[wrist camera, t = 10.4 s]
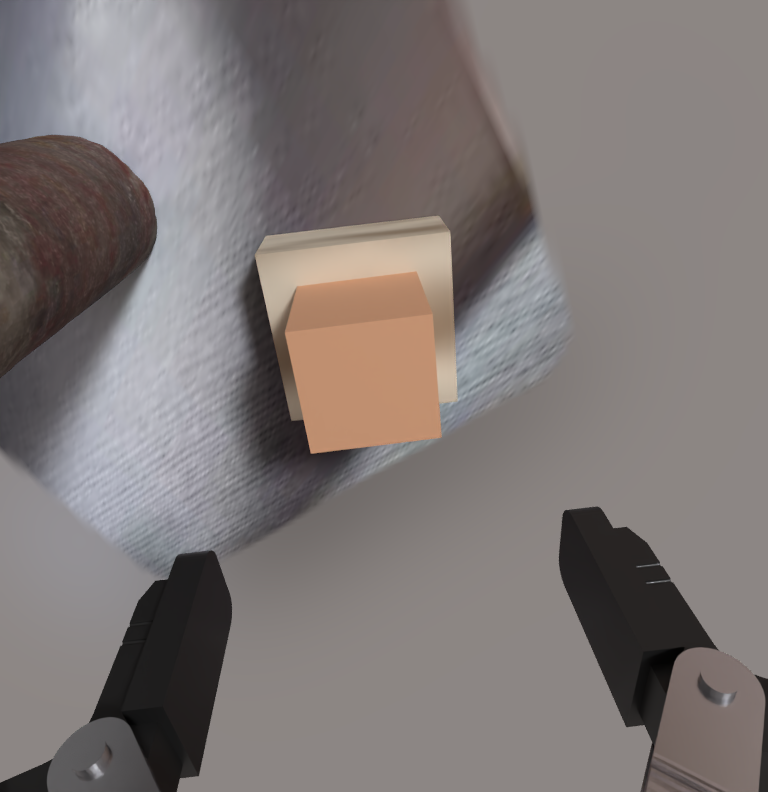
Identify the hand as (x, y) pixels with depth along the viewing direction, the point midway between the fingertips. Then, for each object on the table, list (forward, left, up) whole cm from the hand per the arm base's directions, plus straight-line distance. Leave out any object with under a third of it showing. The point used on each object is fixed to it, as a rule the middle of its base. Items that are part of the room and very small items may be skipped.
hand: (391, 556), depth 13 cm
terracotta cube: (+2, 0, -17) cm, 18 cm away
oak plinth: (+2, 0, -21) cm, 21 cm away
